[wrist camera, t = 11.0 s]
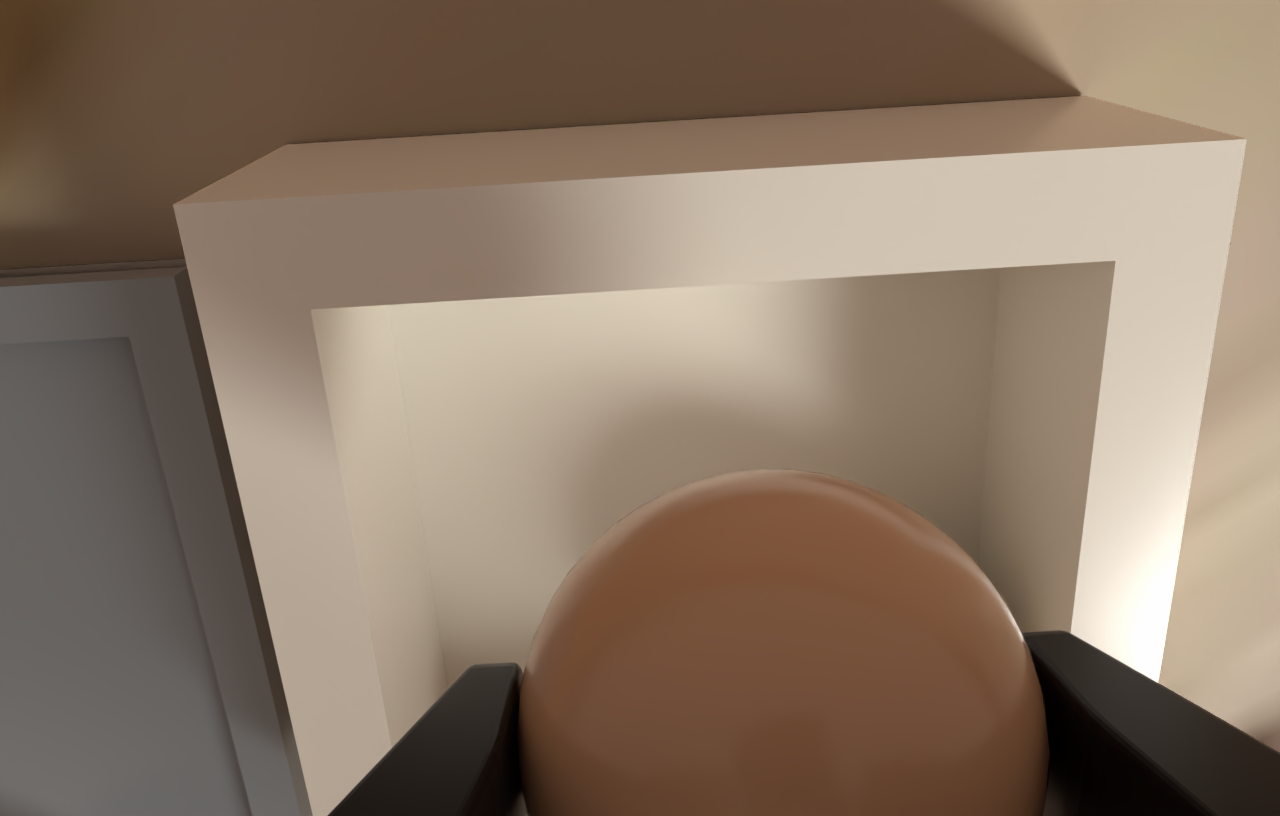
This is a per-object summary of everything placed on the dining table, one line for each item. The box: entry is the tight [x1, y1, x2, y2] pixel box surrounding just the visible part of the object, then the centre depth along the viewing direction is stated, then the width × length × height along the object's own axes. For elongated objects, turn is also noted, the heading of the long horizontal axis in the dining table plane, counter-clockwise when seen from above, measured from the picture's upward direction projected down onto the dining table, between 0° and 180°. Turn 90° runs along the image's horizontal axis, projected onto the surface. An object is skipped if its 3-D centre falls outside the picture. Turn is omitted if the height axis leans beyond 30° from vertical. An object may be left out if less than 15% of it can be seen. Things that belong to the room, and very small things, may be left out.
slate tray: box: [0, 259, 313, 816], centre depth 18 cm, size 16×8×1 cm, turn 3°
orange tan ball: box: [516, 469, 1050, 816], centre depth 8 cm, size 4×4×4 cm
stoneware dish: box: [173, 96, 1247, 816], centre depth 15 cm, size 11×11×4 cm
